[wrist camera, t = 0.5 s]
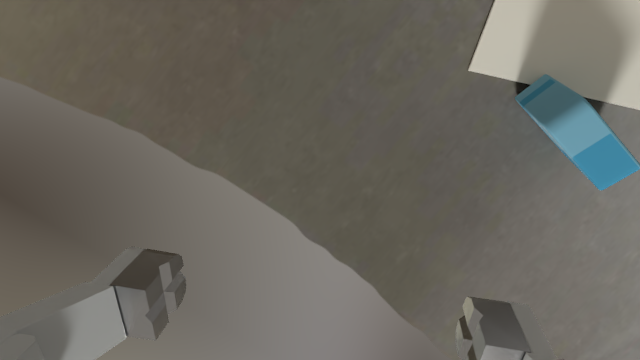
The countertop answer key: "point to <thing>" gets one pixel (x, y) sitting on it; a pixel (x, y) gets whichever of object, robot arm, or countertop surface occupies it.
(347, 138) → the countertop surface
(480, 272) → the countertop surface
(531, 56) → the mat
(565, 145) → the data package
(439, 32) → the countertop surface
